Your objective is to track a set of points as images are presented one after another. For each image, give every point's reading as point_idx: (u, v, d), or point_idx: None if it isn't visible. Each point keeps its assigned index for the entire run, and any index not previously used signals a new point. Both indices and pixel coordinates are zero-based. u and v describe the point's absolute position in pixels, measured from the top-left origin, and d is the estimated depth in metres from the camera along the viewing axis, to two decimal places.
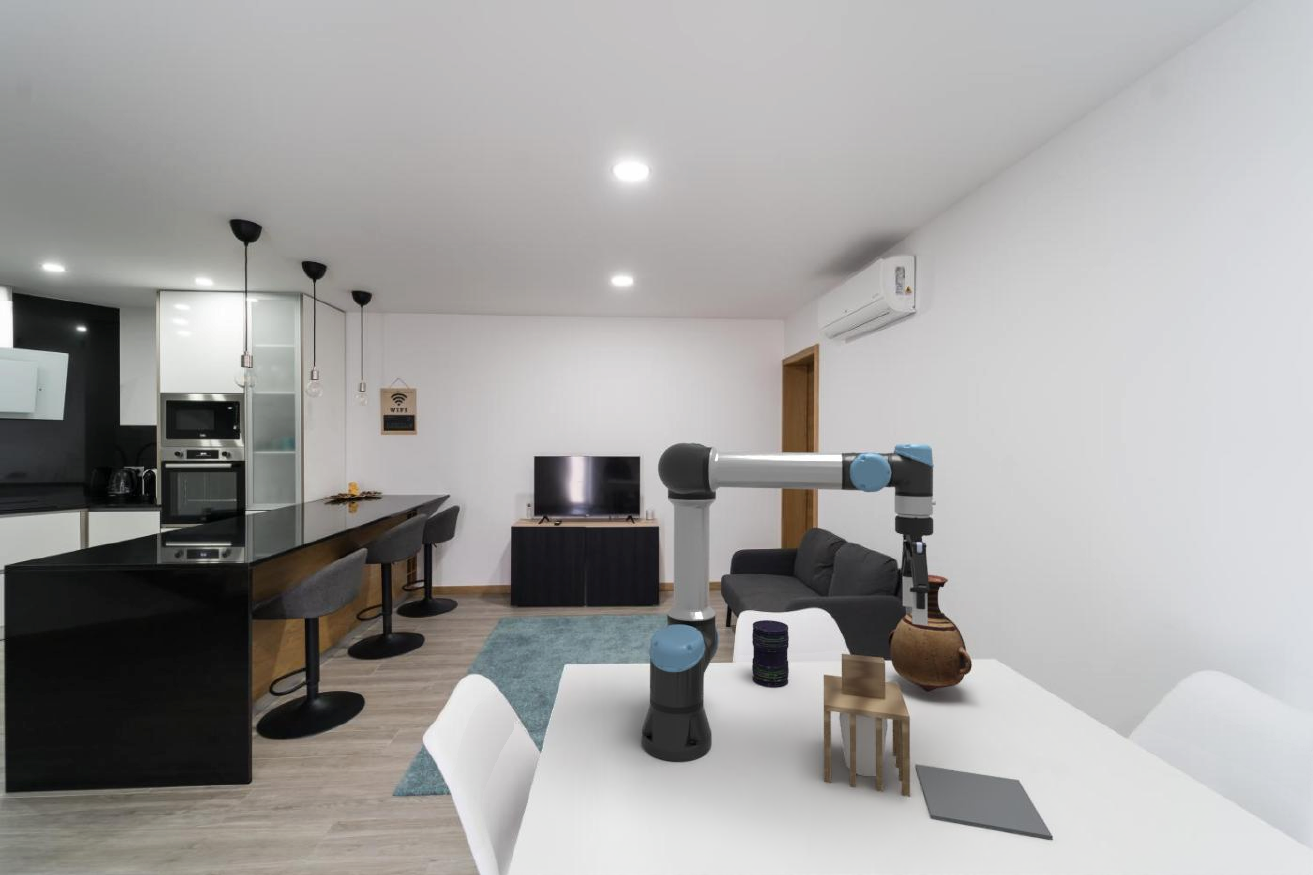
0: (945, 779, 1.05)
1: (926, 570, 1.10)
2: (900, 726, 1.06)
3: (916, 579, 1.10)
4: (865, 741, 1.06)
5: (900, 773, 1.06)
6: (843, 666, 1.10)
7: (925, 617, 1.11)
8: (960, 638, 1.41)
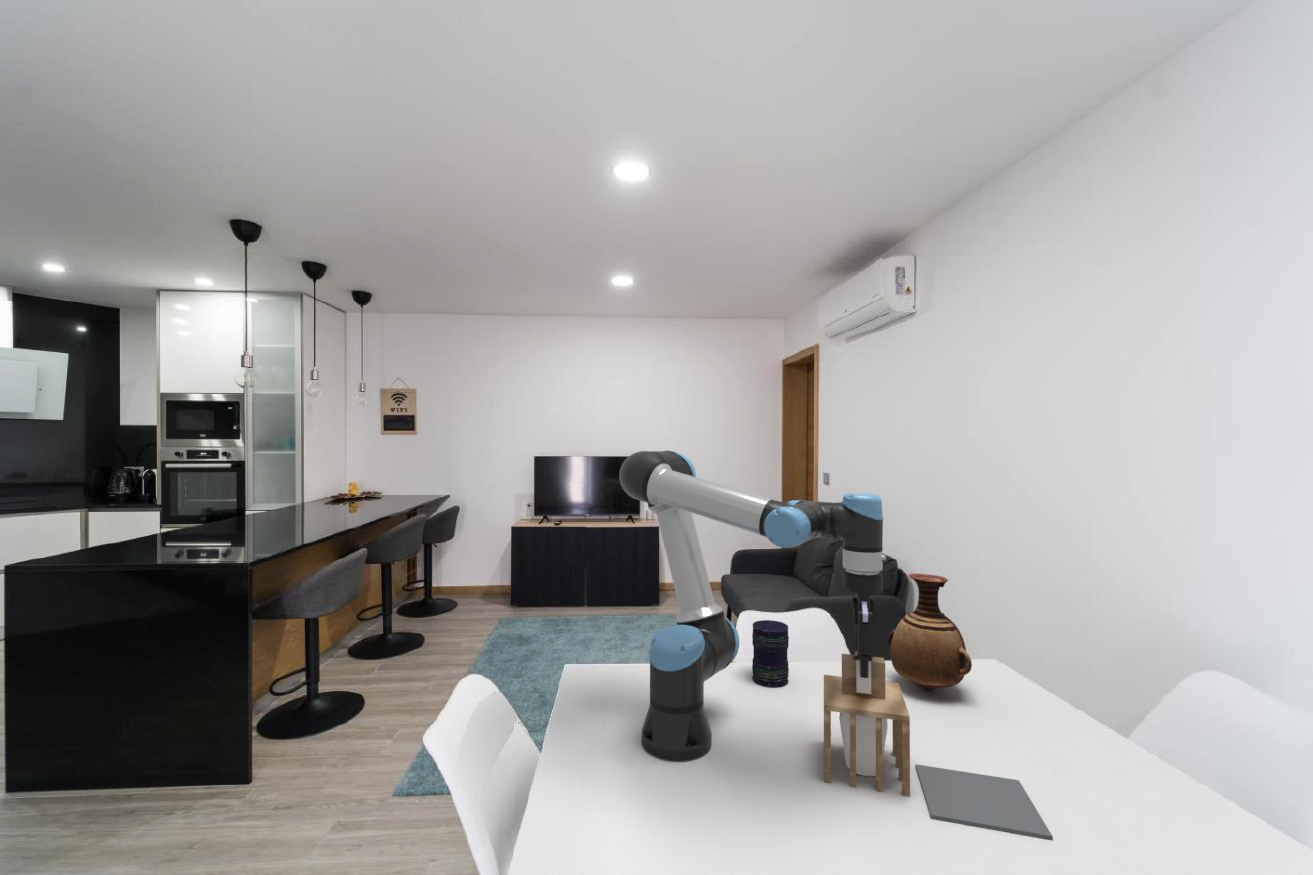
0: (945, 779, 1.05)
1: (870, 641, 1.05)
2: (900, 726, 1.06)
3: (859, 650, 1.06)
4: (865, 741, 1.06)
5: (900, 773, 1.06)
6: (843, 666, 1.10)
7: (869, 686, 1.08)
8: (960, 638, 1.41)
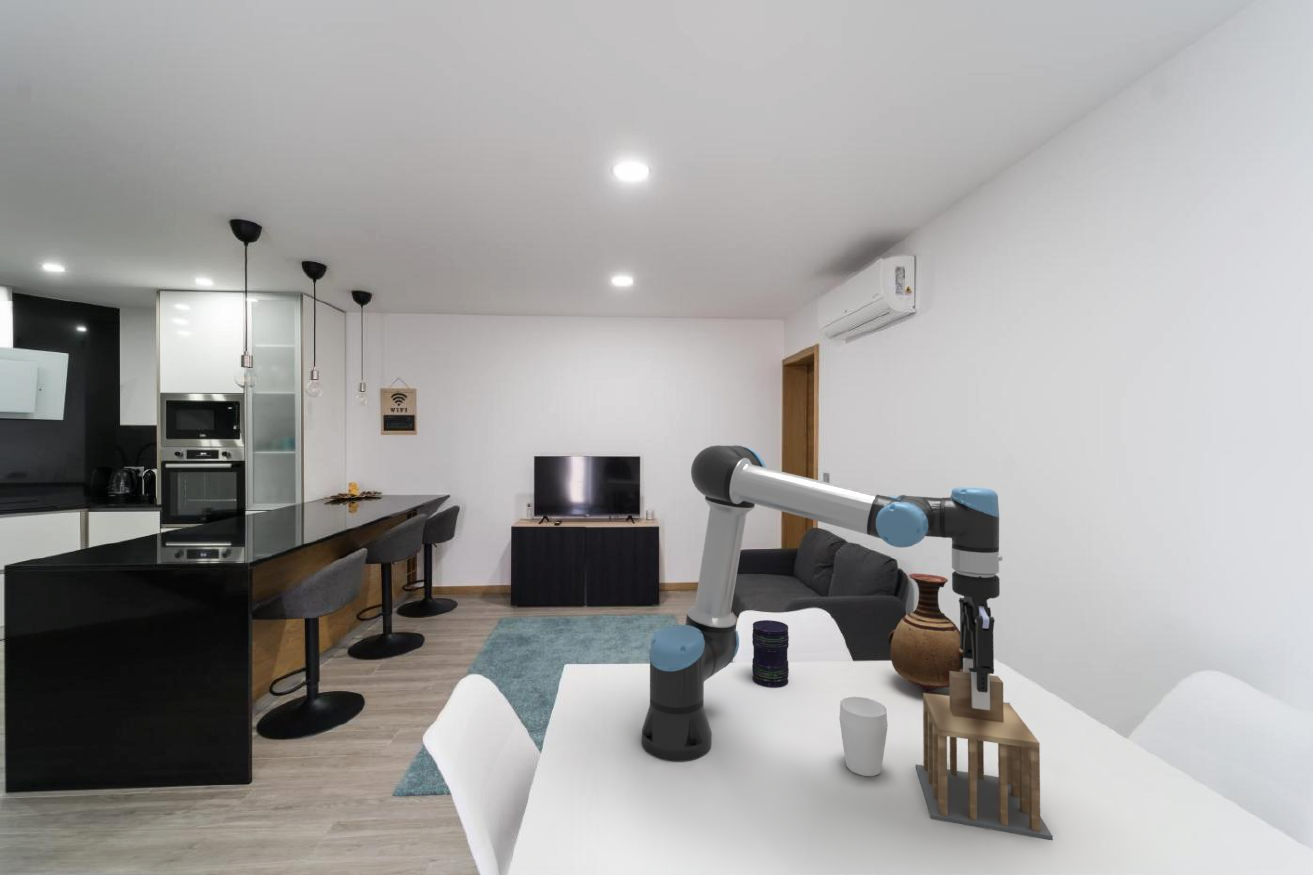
0: None
1: (992, 650, 0.94)
2: (1022, 752, 0.96)
3: (979, 660, 0.95)
4: (865, 741, 1.06)
5: (1023, 804, 0.95)
6: (954, 685, 1.00)
7: (987, 701, 0.97)
8: None
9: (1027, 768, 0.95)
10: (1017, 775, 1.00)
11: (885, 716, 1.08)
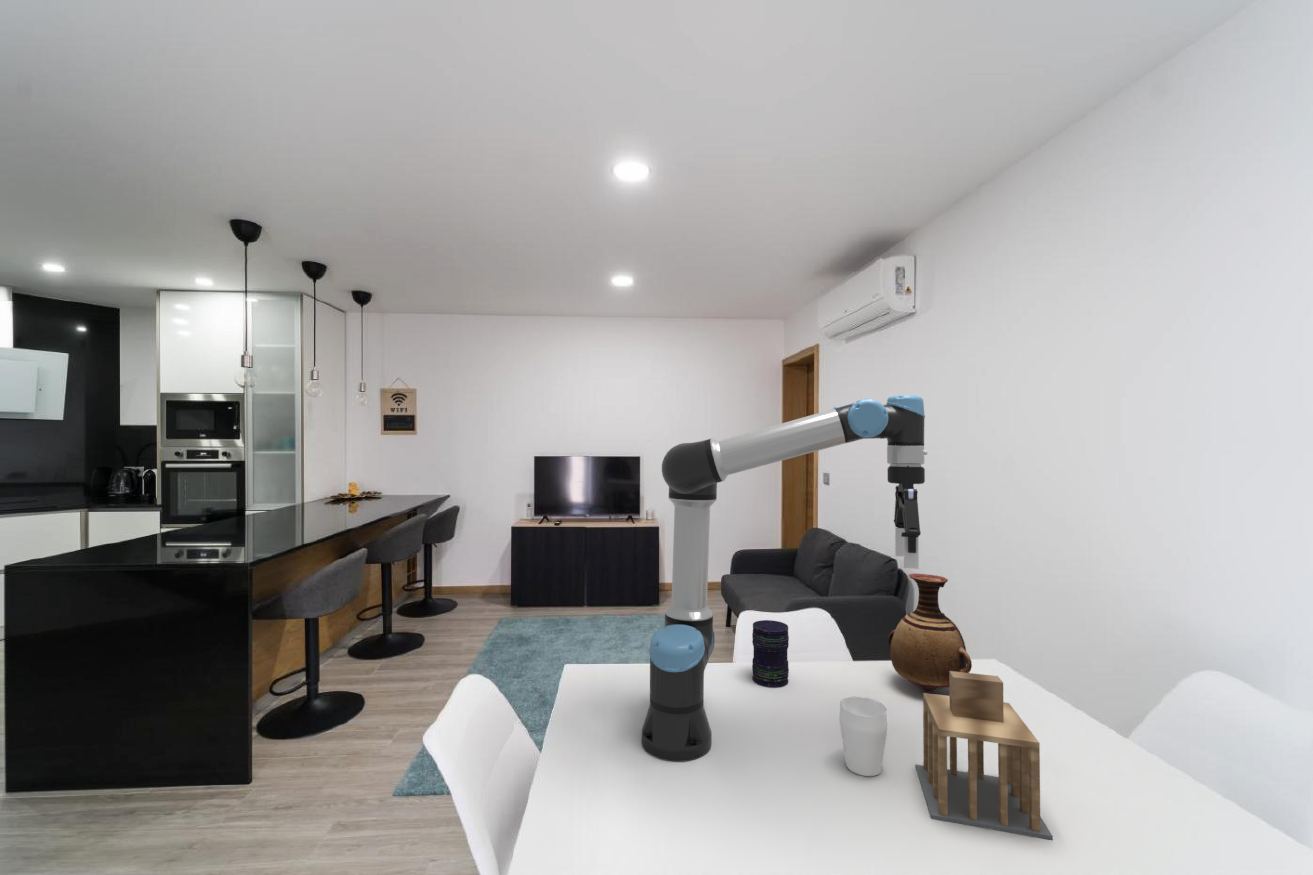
0: None
1: (917, 515, 1.13)
2: (1022, 752, 0.96)
3: (907, 523, 1.13)
4: (865, 741, 1.06)
5: (1023, 804, 0.95)
6: (954, 685, 1.00)
7: (916, 561, 1.14)
8: (960, 638, 1.41)
9: (1027, 768, 0.95)
10: (1017, 775, 1.00)
11: (885, 716, 1.08)
